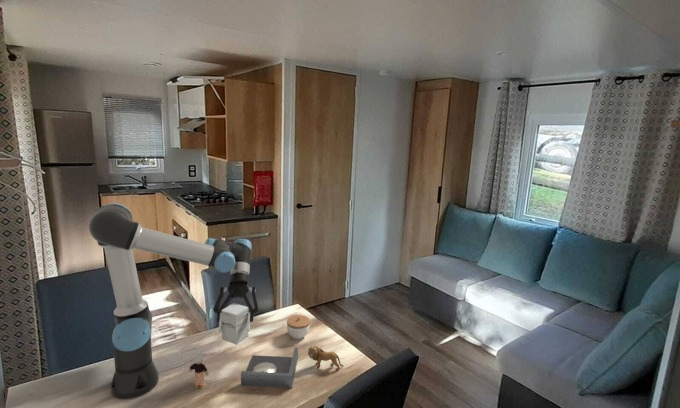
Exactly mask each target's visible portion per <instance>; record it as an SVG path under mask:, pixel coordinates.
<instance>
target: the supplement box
mask: <svg viewBox="0 0 680 408" xmlns="http://www.w3.org/2000/svg"><path fill="white" fill-rule="evenodd" d="M248 312H249V308H248V306H247V305H242V304H240V303H239V304H238V303H235V302H233V303H231V304H228V305H227V307H226V308H225V309H223V310H222V332H221V340H222V341H225V342H228V343H231V344H232V345H236V346H237V345H239V344H240V343H242V341H244V340H245V339H247V338H248V337H249V331H247V321H248Z"/></svg>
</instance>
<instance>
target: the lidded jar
mask: <svg viewBox="0 0 680 408" xmlns="http://www.w3.org/2000/svg"><path fill="white" fill-rule="evenodd" d="M310 325H311V319H310V318H309V317H308V316H306V315H302V314H296V315H291V316H289V317H288V318H287V319H286V330H287V332H288V335H289V336H291V338H292V339H294V340H302V339H304V338H305V337H306V336H307V335H308V333H309V331H310Z"/></svg>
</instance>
